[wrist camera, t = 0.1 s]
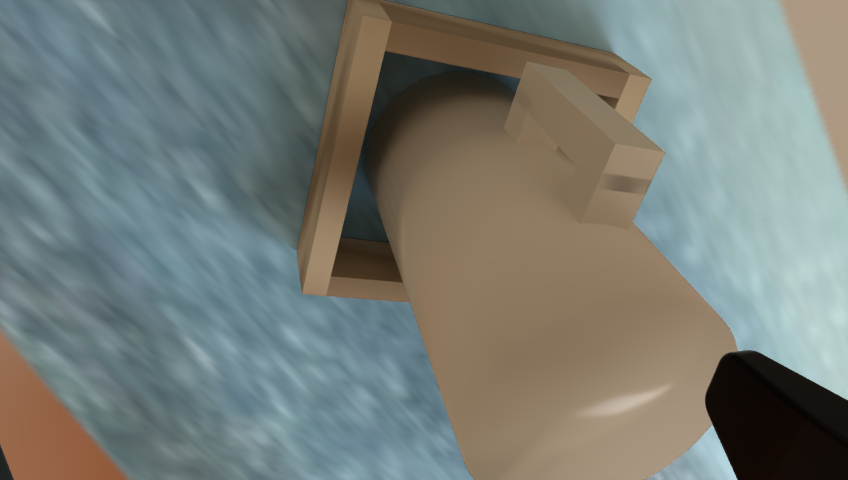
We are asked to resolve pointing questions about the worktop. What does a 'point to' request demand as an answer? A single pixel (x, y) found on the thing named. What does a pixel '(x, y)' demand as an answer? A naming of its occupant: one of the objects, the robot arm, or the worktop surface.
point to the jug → (542, 278)
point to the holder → (351, 104)
